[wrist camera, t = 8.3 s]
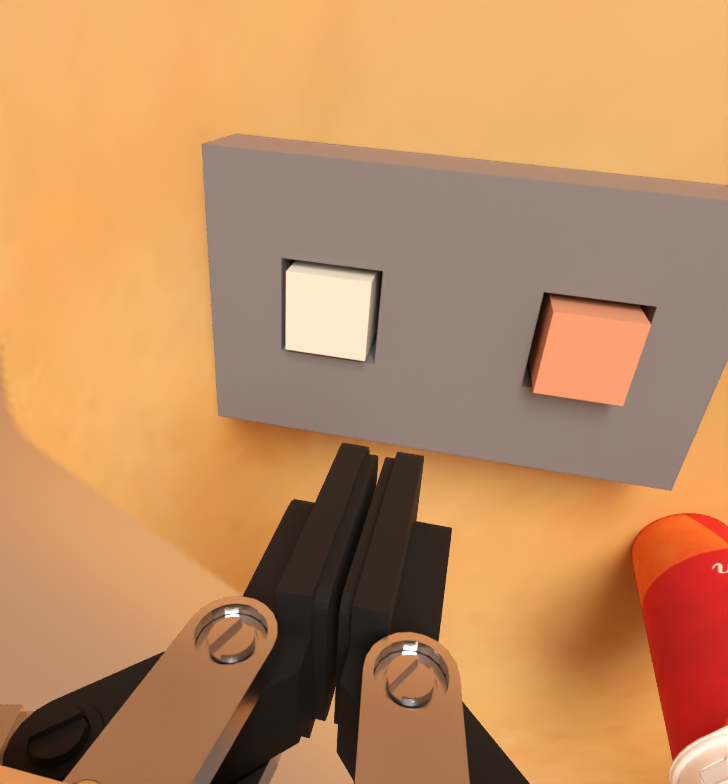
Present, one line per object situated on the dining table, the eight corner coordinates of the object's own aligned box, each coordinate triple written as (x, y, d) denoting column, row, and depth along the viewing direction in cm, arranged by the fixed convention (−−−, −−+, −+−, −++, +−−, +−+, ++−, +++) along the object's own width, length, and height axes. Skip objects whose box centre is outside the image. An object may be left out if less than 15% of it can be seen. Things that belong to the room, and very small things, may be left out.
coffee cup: (768, 586, 36) (922, 875, 23) (628, 606, 39) (697, 873, 26) (748, 482, 33) (914, 750, 20) (597, 512, 36) (658, 763, 23)
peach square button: (606, 365, 30) (623, 406, 27) (527, 353, 31) (533, 392, 27) (630, 291, 28) (651, 324, 25) (545, 280, 29) (553, 311, 25)
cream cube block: (378, 327, 32) (365, 361, 29) (307, 317, 33) (285, 349, 29) (385, 256, 30) (371, 282, 27) (309, 246, 31) (286, 271, 27)
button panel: (652, 446, 33) (671, 490, 30) (243, 381, 36) (218, 415, 32) (752, 188, 26) (793, 207, 23) (235, 134, 29) (201, 143, 25)
